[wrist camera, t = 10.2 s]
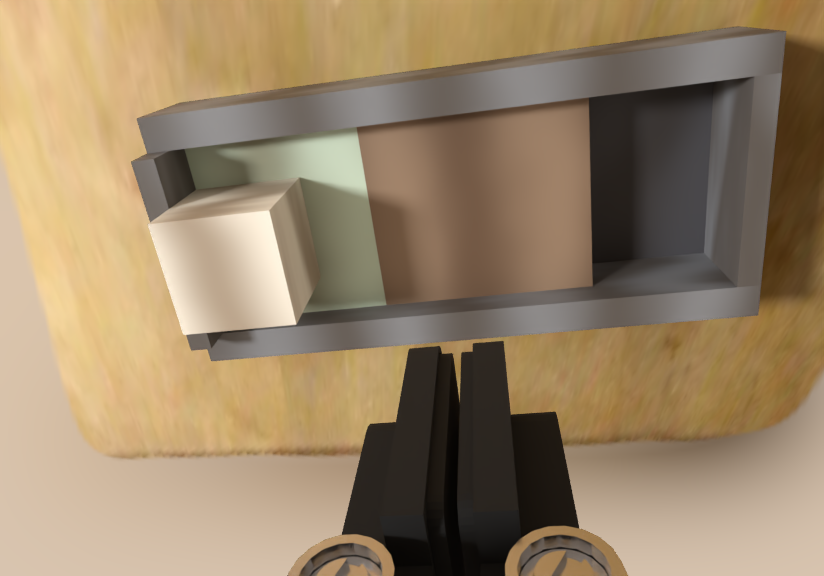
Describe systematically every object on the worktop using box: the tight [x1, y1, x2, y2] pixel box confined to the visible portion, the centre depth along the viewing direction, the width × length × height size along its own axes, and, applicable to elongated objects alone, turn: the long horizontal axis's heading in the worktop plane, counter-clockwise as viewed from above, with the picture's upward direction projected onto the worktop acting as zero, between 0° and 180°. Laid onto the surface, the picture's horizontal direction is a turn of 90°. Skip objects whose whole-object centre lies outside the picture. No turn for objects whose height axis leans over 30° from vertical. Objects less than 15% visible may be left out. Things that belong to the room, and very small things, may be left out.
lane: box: [131, 27, 786, 361], centre depth 29 cm, size 26×12×6 cm, turn 98°
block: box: [148, 177, 321, 335], centre depth 28 cm, size 5×5×5 cm
